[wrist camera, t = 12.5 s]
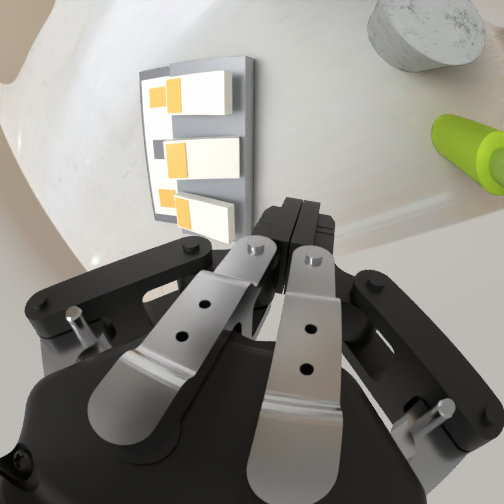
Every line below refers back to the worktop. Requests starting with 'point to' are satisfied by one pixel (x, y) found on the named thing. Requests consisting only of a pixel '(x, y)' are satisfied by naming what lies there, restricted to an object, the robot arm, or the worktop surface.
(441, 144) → the soap dispenser
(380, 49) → the grey concrete cylinder
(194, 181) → the switch unit
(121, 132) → the worktop surface
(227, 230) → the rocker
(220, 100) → the plate
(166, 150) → the rocker middle
